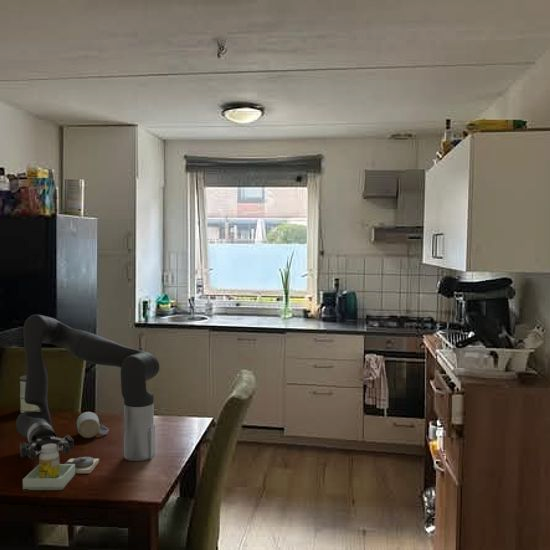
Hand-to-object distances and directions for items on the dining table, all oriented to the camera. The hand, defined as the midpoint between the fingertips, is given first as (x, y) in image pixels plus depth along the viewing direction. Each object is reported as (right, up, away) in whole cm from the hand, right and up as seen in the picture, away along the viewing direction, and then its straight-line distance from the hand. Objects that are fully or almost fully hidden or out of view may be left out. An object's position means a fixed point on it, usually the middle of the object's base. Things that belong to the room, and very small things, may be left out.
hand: (50, 453), depth 153 cm
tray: (-1, -9, +2) cm, 9 cm away
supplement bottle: (-1, -8, +2) cm, 8 cm away
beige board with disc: (+4, -8, +13) cm, 16 cm away
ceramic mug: (-3, -7, +42) cm, 43 cm away
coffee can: (-37, -6, +72) cm, 82 cm away
